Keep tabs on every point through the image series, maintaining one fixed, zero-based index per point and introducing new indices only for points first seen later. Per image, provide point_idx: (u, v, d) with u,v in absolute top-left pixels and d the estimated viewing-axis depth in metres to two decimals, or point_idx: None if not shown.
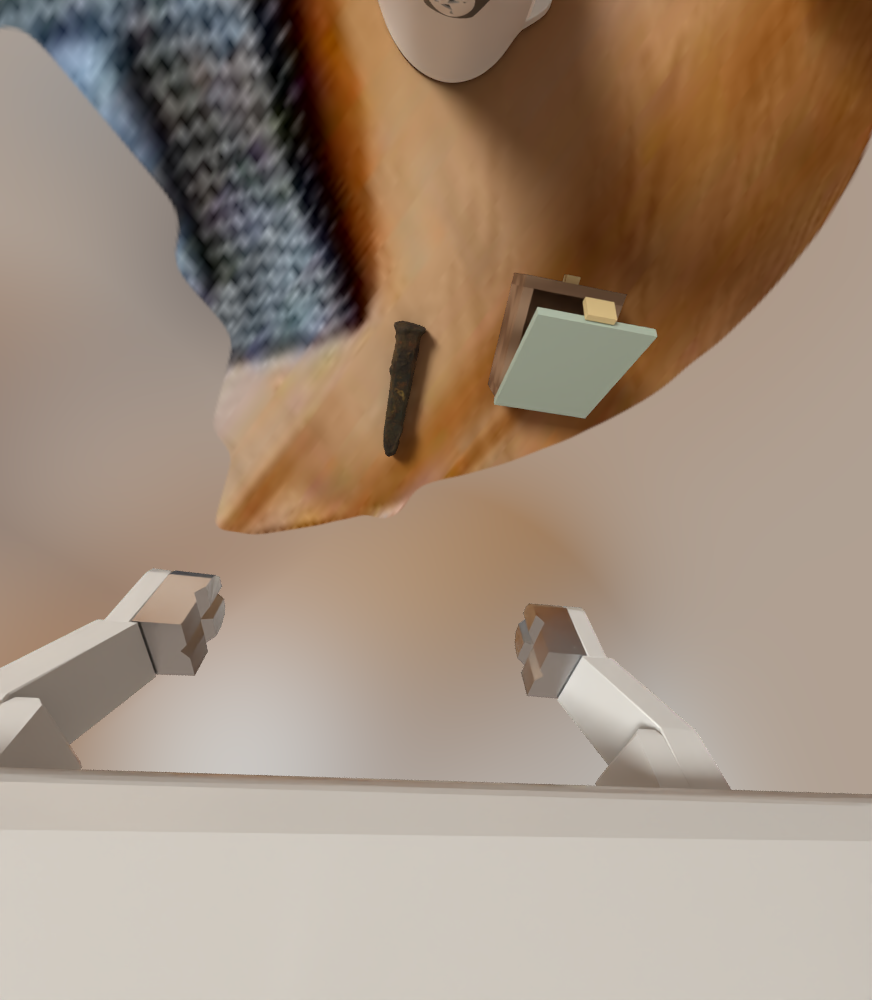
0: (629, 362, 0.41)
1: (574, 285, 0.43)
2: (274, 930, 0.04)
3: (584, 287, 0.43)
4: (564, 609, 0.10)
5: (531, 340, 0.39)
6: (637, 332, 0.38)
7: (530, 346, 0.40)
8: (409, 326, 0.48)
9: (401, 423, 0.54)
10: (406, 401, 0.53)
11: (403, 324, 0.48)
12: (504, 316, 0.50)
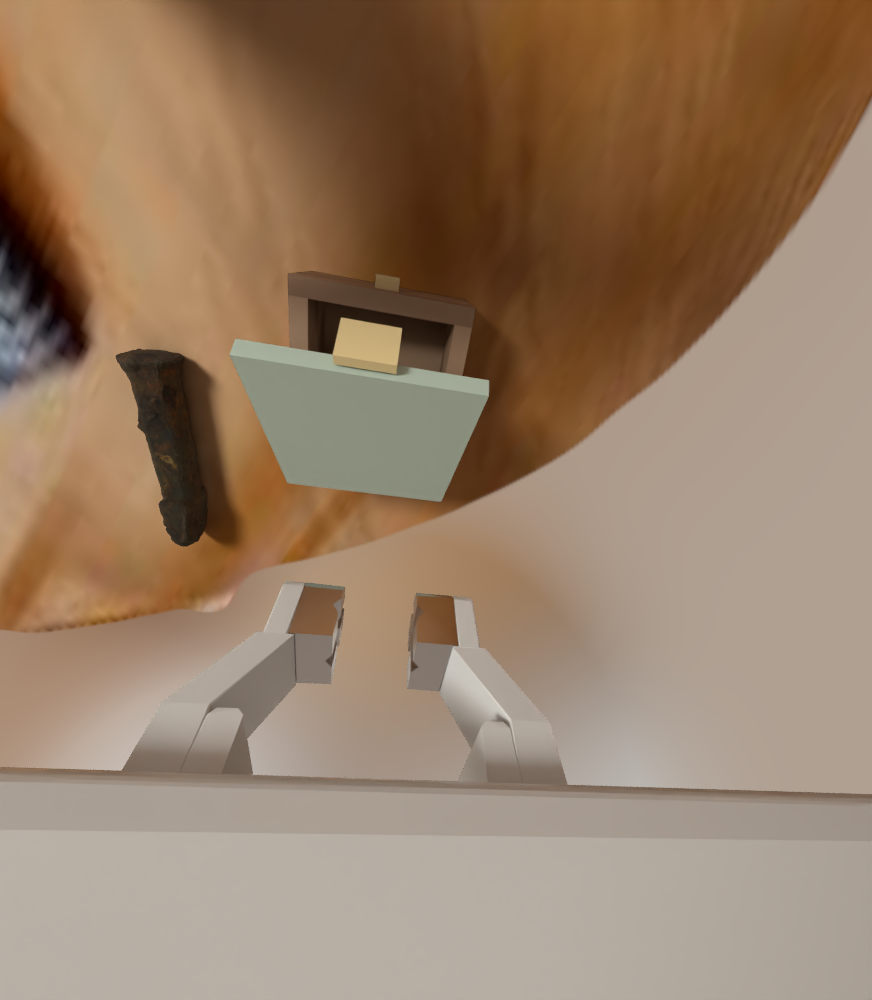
0: (463, 434, 0.23)
1: (379, 292, 0.25)
2: (274, 930, 0.04)
3: (397, 296, 0.25)
4: (451, 599, 0.10)
5: (260, 398, 0.21)
6: (446, 388, 0.19)
7: (268, 408, 0.21)
8: (135, 358, 0.29)
9: (186, 501, 0.36)
10: (182, 469, 0.34)
11: (127, 356, 0.29)
12: None
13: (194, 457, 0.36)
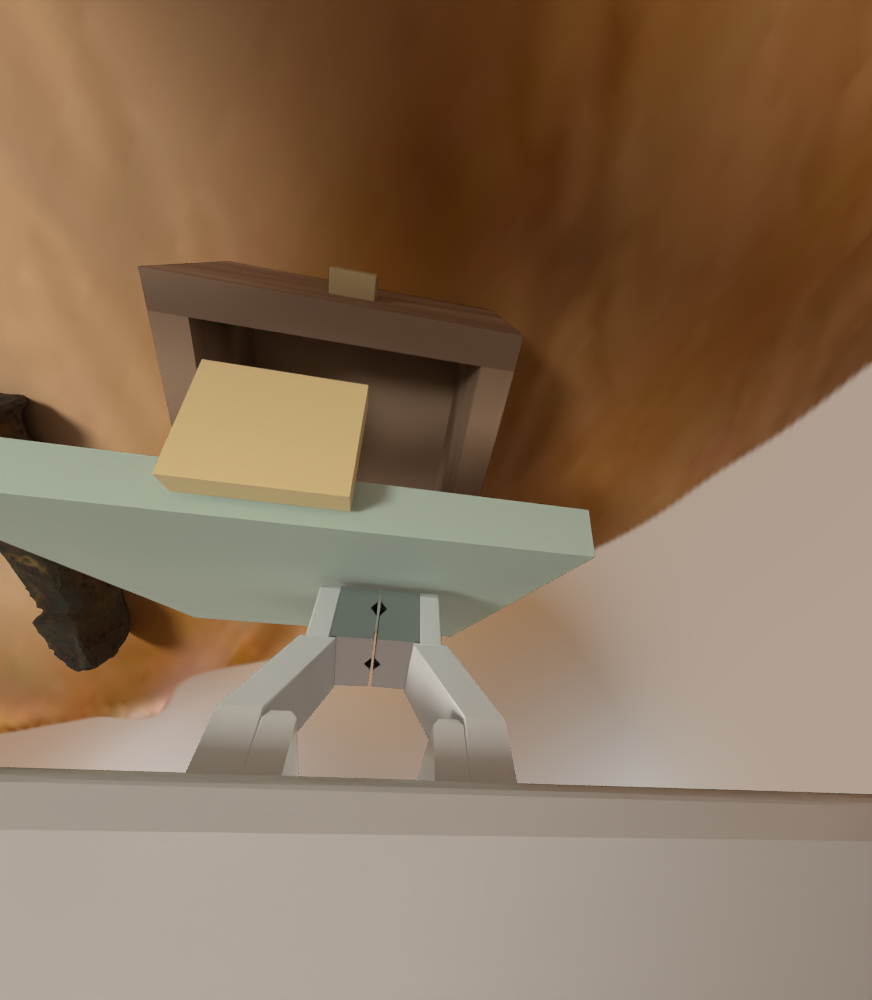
0: (508, 594, 0.11)
1: (332, 306, 0.12)
2: (275, 930, 0.04)
3: (369, 313, 0.12)
4: (416, 596, 0.10)
5: (35, 544, 0.09)
6: (486, 543, 0.07)
7: (70, 556, 0.09)
8: None
9: (76, 613, 0.24)
10: (59, 571, 0.22)
11: None
12: None
13: None
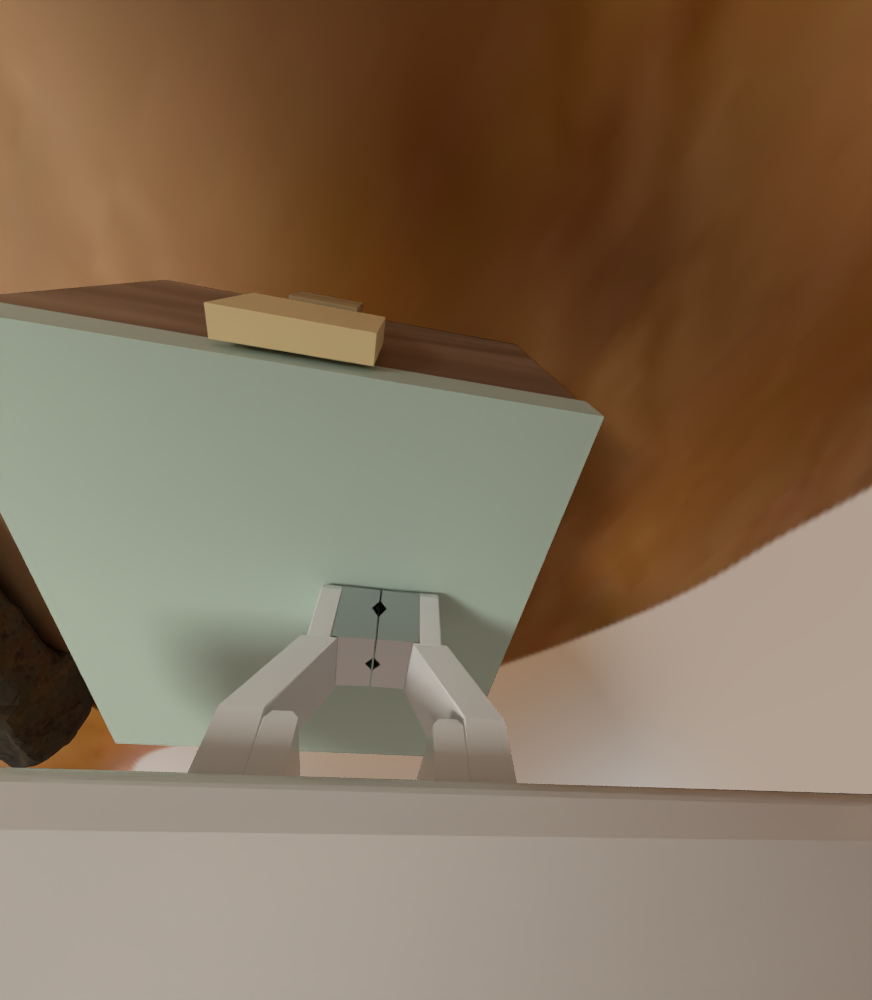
0: (528, 554, 0.10)
1: None
2: (274, 930, 0.04)
3: None
4: (416, 596, 0.10)
5: (11, 470, 0.08)
6: (500, 399, 0.08)
7: (37, 505, 0.08)
8: None
9: (9, 704, 0.19)
10: None
11: None
12: None
13: (13, 622, 0.19)
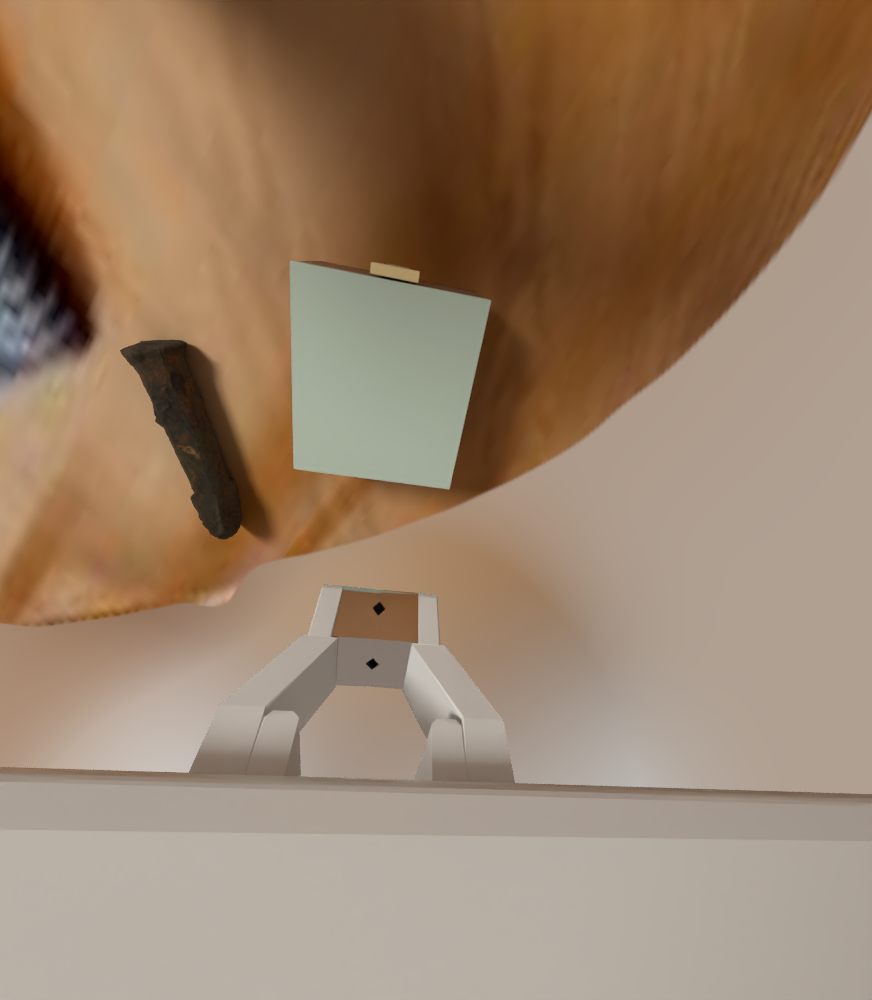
0: (471, 359, 0.26)
1: None
2: (274, 930, 0.04)
3: None
4: (415, 596, 0.10)
5: (300, 318, 0.24)
6: (457, 293, 0.24)
7: (304, 332, 0.25)
8: (137, 348, 0.29)
9: (216, 491, 0.36)
10: (206, 459, 0.34)
11: (130, 347, 0.29)
12: None
13: (216, 446, 0.36)
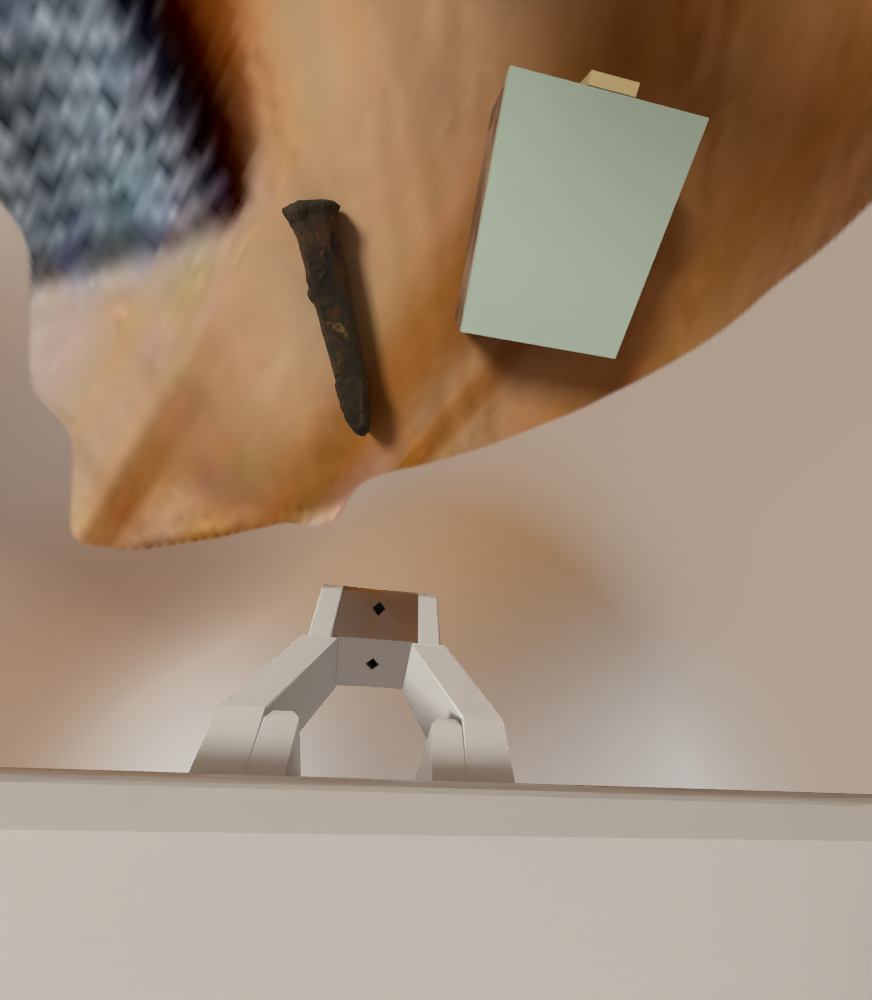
0: (672, 193, 0.25)
1: None
2: (274, 930, 0.04)
3: None
4: (415, 596, 0.10)
5: (506, 139, 0.23)
6: (676, 109, 0.23)
7: (506, 158, 0.24)
8: (303, 201, 0.28)
9: (359, 377, 0.34)
10: (353, 339, 0.33)
11: (294, 203, 0.28)
12: (477, 195, 0.30)
13: (357, 331, 0.34)
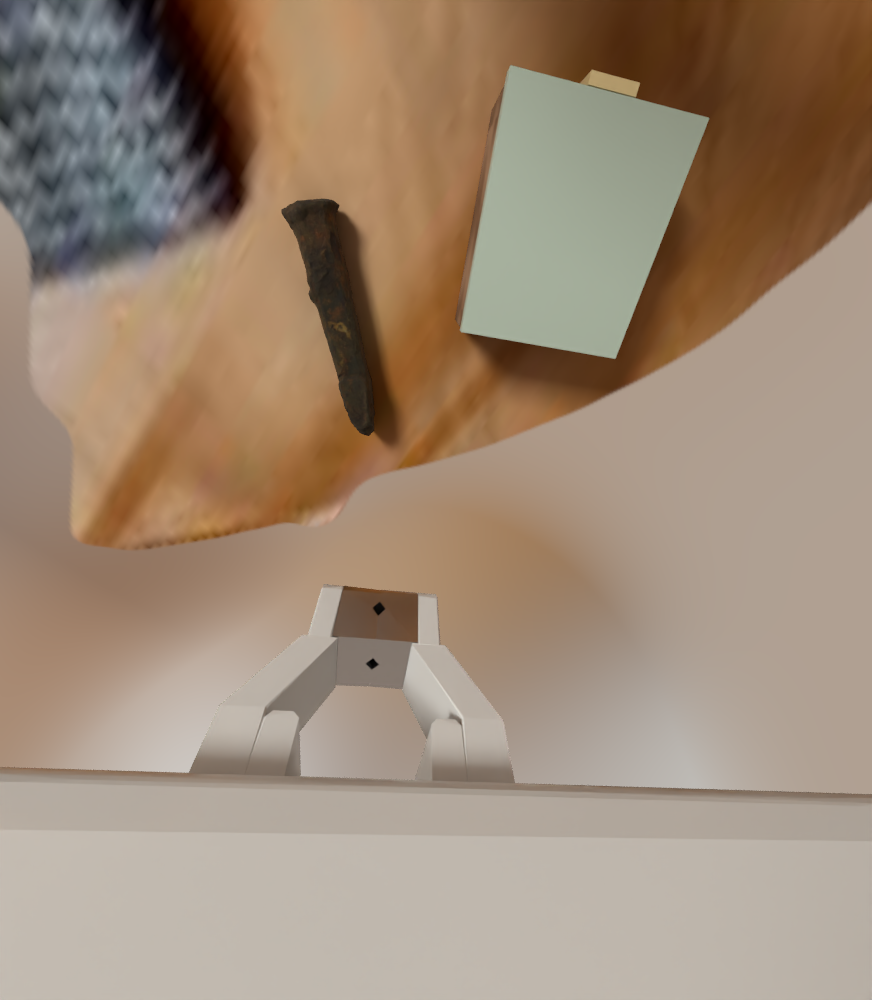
0: (672, 193, 0.25)
1: None
2: (274, 930, 0.04)
3: None
4: (415, 595, 0.10)
5: (507, 139, 0.23)
6: (676, 109, 0.23)
7: (506, 158, 0.24)
8: (302, 201, 0.27)
9: (362, 376, 0.34)
10: (355, 338, 0.33)
11: (293, 204, 0.28)
12: (477, 195, 0.30)
13: (359, 330, 0.34)
